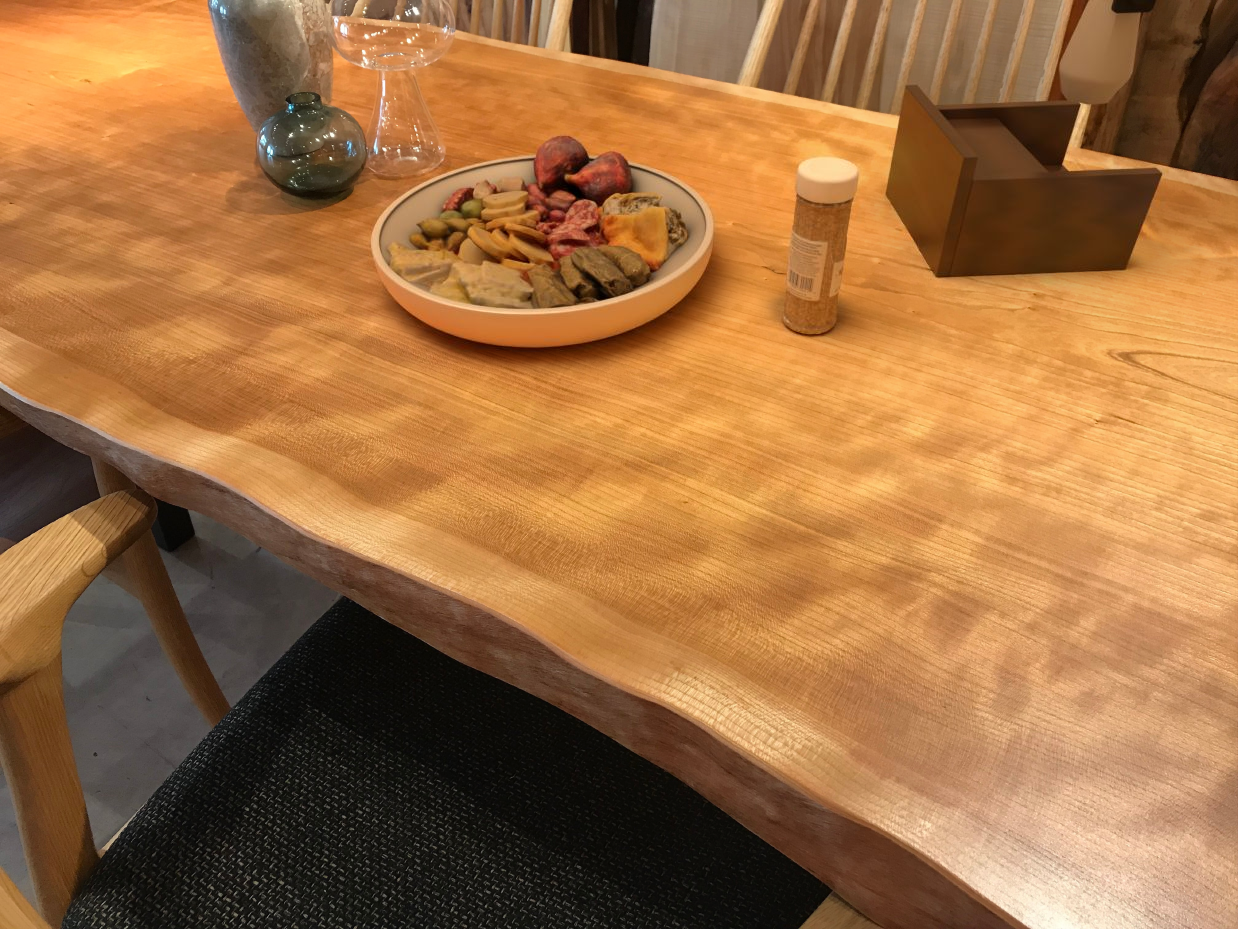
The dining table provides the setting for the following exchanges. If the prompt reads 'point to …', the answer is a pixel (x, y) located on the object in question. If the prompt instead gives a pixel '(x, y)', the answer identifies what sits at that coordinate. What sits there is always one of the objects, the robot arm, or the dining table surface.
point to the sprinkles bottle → (818, 243)
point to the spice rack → (1009, 190)
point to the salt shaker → (1099, 54)
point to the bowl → (544, 247)
